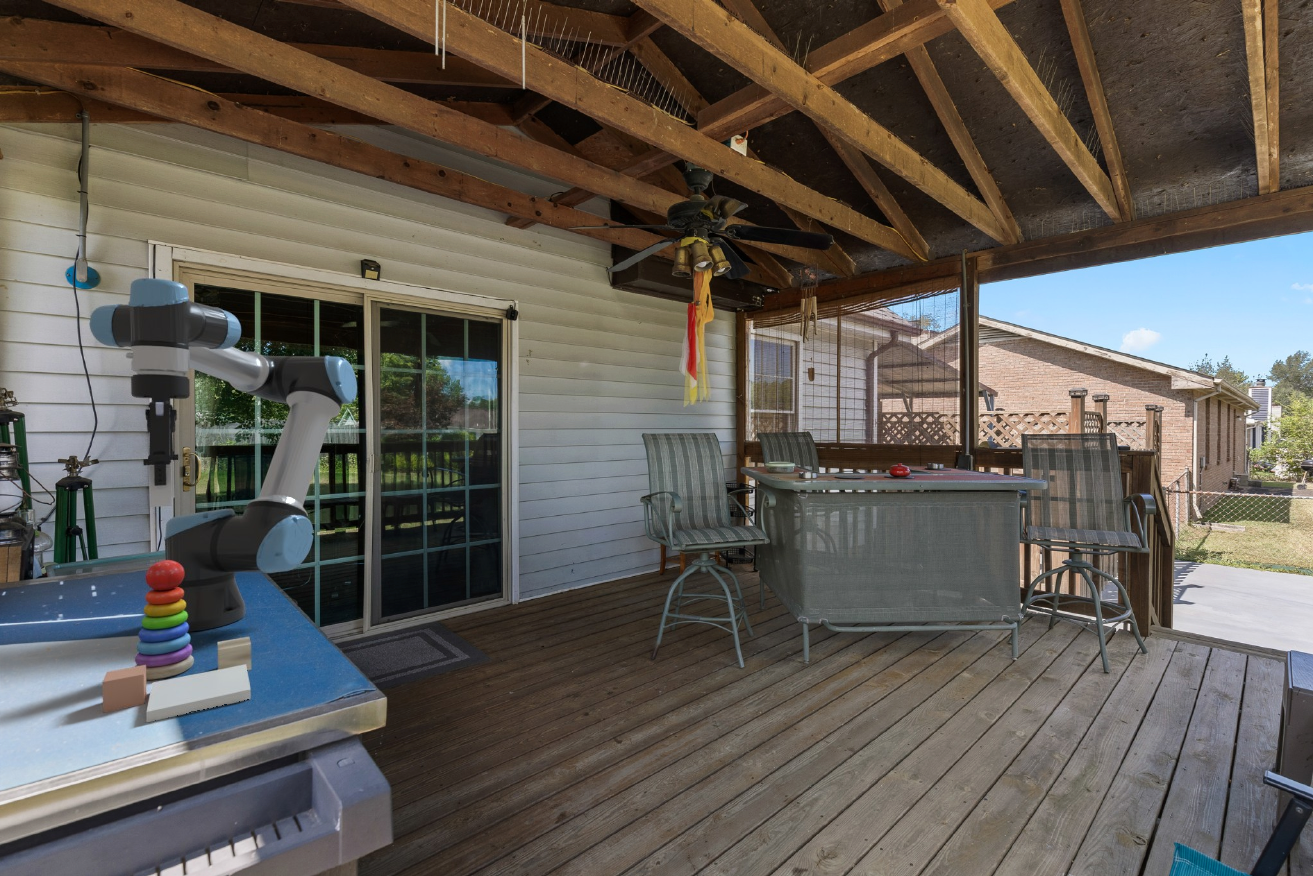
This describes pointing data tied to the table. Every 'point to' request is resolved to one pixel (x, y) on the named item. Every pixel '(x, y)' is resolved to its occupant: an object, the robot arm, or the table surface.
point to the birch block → (234, 653)
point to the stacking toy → (164, 624)
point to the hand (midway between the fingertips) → (162, 502)
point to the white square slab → (198, 692)
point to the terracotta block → (124, 688)
